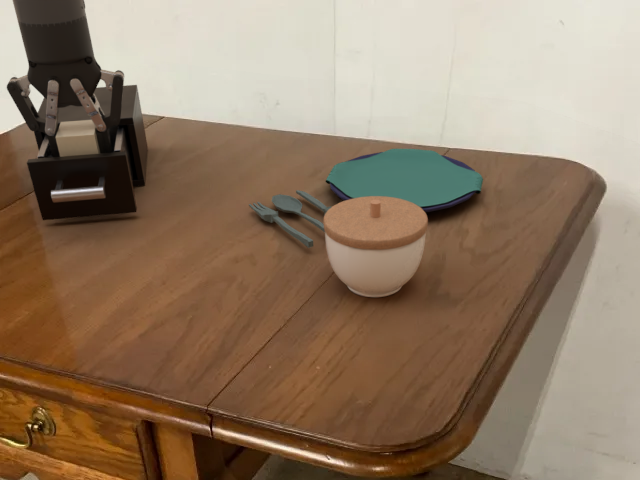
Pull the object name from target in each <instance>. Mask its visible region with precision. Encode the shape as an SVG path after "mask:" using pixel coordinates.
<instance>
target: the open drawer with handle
mask: <svg viewBox="0 0 640 480" xmlns="http://www.w3.org/2000/svg"><path fill="white" fill-rule="evenodd" d="M108 131H109V136H110V141H111V146H112V150H111V153H100V154H87V155H75V156H62V157H52V153H51V149H50V145H49V141H48V138H47V135H46V134H45V137H44V140H43V142H42V145H41V148H40V150H39V149H38V153H37V156H36V157H37V158H28V159H27V161H26V165H27V170H28V172H29V176H30V181H31V184H32V187H33V190H34V194H35V198H36V201H37V206H38V209H39V212H40V217H41V219H42V221H51V220H62V219H63V220H65V219H73V218H74V219H75V218H85V217H86V218H87V217H97V216H108V215H109V216H110V215H119V214H121V215H122V214H130V213H132V214H133V213H137V212H138V206H137V201H136V196H135V191H134V187H133V185H132V183H133V174H134V167H133V162H132V157H131V151H130V146H129V141H128V135H127V130H126V125H119V126H112V127H110V128H109V129H108Z"/></svg>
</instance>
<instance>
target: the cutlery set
mask: <svg viewBox="0 0 640 480" xmlns="http://www.w3.org/2000/svg"><path fill="white" fill-rule="evenodd" d="M324 181H325V183H326V184H327V185H329V187H330V189H331V191H332V192H333V193H334V194H335V195H336V196H337V197H338V198H339V199H341V200H343V201H346V200H349V199H353V198H359V197H368V196H384V197H393V198H399V199H403V200H406V201H409V202H412V203H414V204H416V205H417V206H419V207H420V208H422V209H423V211H424V212H425V213H430V212H434V211H439V210H440V211H441V210H445V209H449V208H452V207H454V206H456V205H458V204H461V203H463V202H466V201H468V200H469V199H470V198H471V197H473V195H475V194H476V195H478V194H481V193H482V188H483V187H482V186H483V181H484V178H483V176H482V174H481V173H479V172H478V171H475V169H474V168H472V167H471V166H469V165H467V164H466V163H465V162H463V161H461V160H458V159H455V158H452V157H449V156H447V155H444V154H443V155H442V154H439V153H438V152H436V151H435V150H433V149H431V150H430V149H419V148H390V149H387V150H384V151H380V152H374V153H368V154H364V155H363V154H362V155H359V156H357V157H355V158H352V159H348V160H346V161H342V162H338V163H336V164H335V165H333V166H332V168H331V170H330V172H329V173H328V175H327V177H326V179H325V180H324ZM295 194H296V195H298V196H299V197H301V198H303V199H304V200H306V201H307V202H309V203H310V204H312V205H313V206H314V207H316V208H318V209H319V210H320V211H322V212H323V217H324V216H325V214H326V212H327V211H328V210H329V209H330V208H331V207H332V206H326V205H325V204H324V203H323V202H321V201H320V200H319V199H317V198H316V197H314V196H313V195H311V194H310V193H308V192H306V191H303V190H300V189H296V190H295ZM271 203H272V204H273V205H274V206H275V208H276V209H278V210H274V209H272V208H270V207H268V206H266V205H264V204H262V203H261V202H260V201H257V202H256V203H255V202H253V203H252V204H251V203H248V207H249V208H250V209H251V210H253V211H254V212H255V213H256V214H257V215H258V216H259V217H260V219H262V221H264V222H268V223H271V224H272V223H276V224H277V225H278V226H279V227H280V229H282V230H283V231H284V232H285V233H287V234H289V236H291V237H293V238H294V239H296V240H297V241H299V242H300V243H302V245H304V246H305V247H306V248H308V249H310V248H313V247H314V240H313V239H312V238H310V237H309V236H307V234H304V233H303V232H300V231H299V230H297V229H295V228H293V226H290V225H289V224H288V223H287V222H286V221H284V219H283V218H281V217H279V211H281V212H283V213H284V214H285V213H286V214H296V215H298V216H299V217H301V218H303V219H304V220H306V221H307V222H308V223H311V224H312V225H314V226H315V227H317V228H318V229H319V230H320V231H322V232H323V233H325V230H324V222H321V221H320V220H318V219H316V218H314V217H312V216H310V215H309V214H306V213H304V212H302V207H303V203H302V202H301V201H300V200H299V199H298V198H296V197H294V196H292V195H288V194H281V193H279V194H275V195H272V196H271Z"/></svg>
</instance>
